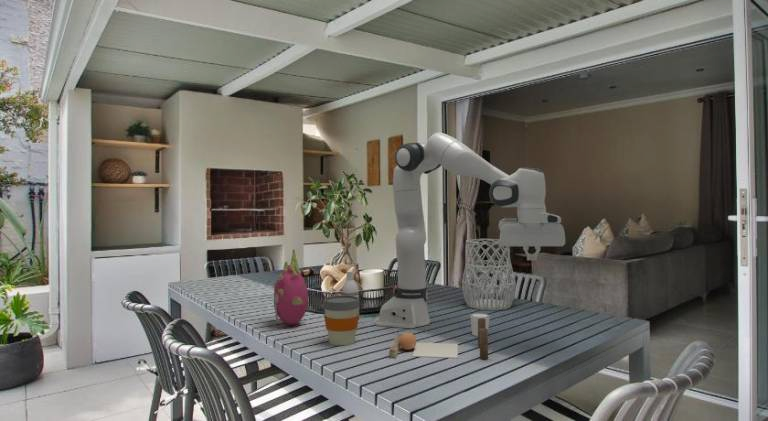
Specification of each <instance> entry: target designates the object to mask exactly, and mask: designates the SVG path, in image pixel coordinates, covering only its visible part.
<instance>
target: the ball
mask: <svg viewBox="0 0 768 421" xmlns="http://www.w3.org/2000/svg"><path fill="white" fill-rule="evenodd" d="M402 334H403V335H402V336H401V337H400V340H399V342H400V345H401V347H400V348H402V349H403V350H405V351H411V350H413V349H415V346H416V343H417V339H416V337H415V335H414V334H413V333H411V332H405V333H402Z"/></svg>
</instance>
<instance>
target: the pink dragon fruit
mask: <svg viewBox="0 0 768 421" xmlns="http://www.w3.org/2000/svg"><path fill="white" fill-rule="evenodd" d="M290 260H291V261H290V264H288V261H285V262H284V263H283V264H284V265H283V269H282V273H279V274H278V277H277V280H276V282H274V283H273V308H274V316H275V320H276V322H277V323H278V322H279V319H280V320H281V321H282V322H283V323H284V324H285V325H289V326H293V325H297V324H298V323H300V322H301V321H302V319H303V318H304V316H305V314H306V311H307V308H308V304H309V294H308V293H309V292H308V287H307V283H306V282H305V279H304V277H303V275H302V274H301V271H300V267H299V263H298V258H297V255H296V250H295V249H292V256H291V259H290Z"/></svg>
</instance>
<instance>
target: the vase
mask: <svg viewBox="0 0 768 421" xmlns="http://www.w3.org/2000/svg"><path fill="white" fill-rule="evenodd" d="M465 243H466V244H465V245H466V260H465V266H464V270H463V273H462V274H463V275H462V279H461V291H462V295H463V299H464V302H465V304H466V306H467V307H469V308H472V309H476V310H481V311H501V310H508V309H510V308H511V307H512V304H513V303H514V299H515V297H516V291H517V290H516V289H517V284H516V277H515V274H514V270H513V265H512V261H511V254H510V253H511V246H502V245H501V244H500V238H475V239H473V238H472V239H467V240H465ZM475 245H476V247H474V246H475ZM484 245H486V246H487V248H486V249H485V248H484V247H483V246H484ZM496 245H497V246H498V247H497V248H495V247H494V246H496ZM480 249H481V250H482V251H483V252H481V254H479V253H478V252H479V251H480ZM491 249H492V251H493V253H492V255H490V253H489V250H491ZM500 250H501V251H502V254H500V252H499V251H500ZM472 251H473V252H472ZM485 257H487V259H486V260H485ZM496 257H497V259H498V260H495V258H496ZM475 259H477V260H475ZM479 271H480V273H481V275H480V276H478V273H479ZM491 271H492V272H493V275H494V276H490V274H491ZM469 273H470V275H469ZM503 273H504V275H505V276H504V277H503ZM485 280H486V285H485Z"/></svg>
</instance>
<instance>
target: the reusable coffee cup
mask: <svg viewBox="0 0 768 421" xmlns="http://www.w3.org/2000/svg"><path fill="white" fill-rule="evenodd" d="M322 307H323V309H324V315H323V317H324V324H325V329H326V330H327V334H328V342H329V344H330V345H333V346H348V345H352V344H354V343H355V342H356V333H357V329H358V327H359V319H360V313H359V314H358V308H359V309H360V297H359V298H358V297H355V296H345V295H343V296H342V295H334V296H328V297H326V298H324V300H323V306H322ZM358 318H359V319H358Z"/></svg>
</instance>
